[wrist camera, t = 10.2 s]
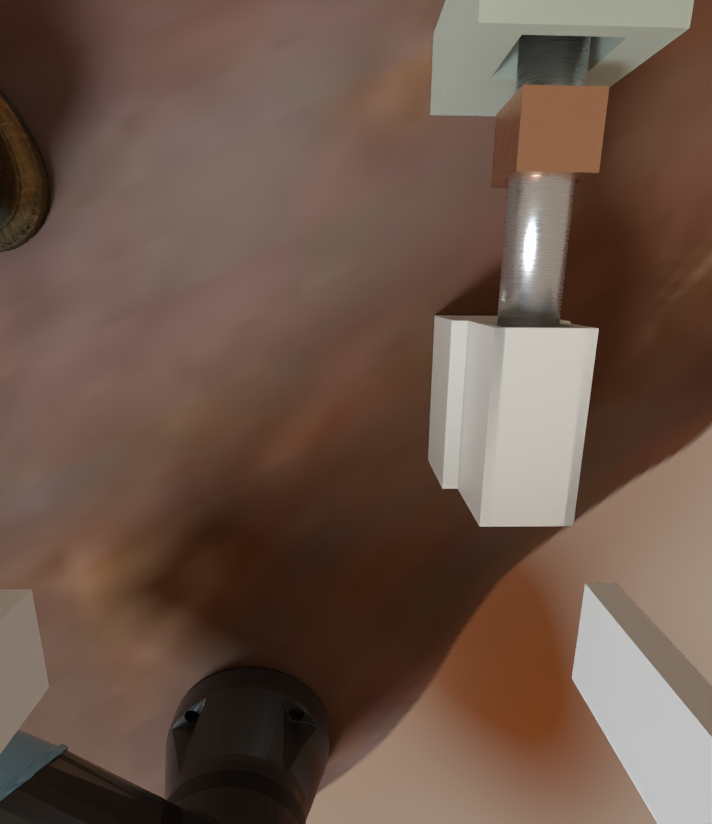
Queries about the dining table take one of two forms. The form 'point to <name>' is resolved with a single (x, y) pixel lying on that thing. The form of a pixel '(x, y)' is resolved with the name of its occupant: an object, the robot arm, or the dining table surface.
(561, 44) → the tube
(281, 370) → the dining table surface
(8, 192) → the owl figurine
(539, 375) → the sleeve
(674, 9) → the socket block
